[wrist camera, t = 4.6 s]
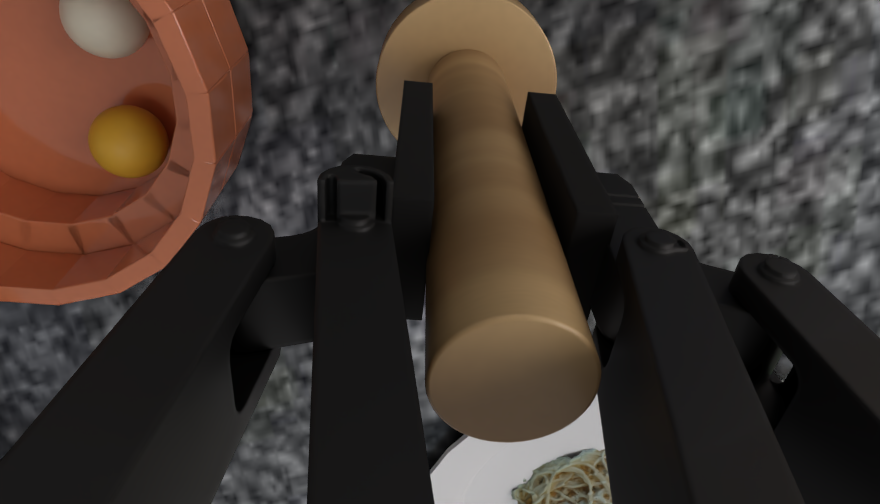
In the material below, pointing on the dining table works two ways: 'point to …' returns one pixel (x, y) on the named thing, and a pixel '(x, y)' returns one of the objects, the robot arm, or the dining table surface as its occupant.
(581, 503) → the plated food
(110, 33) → the bead
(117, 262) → the bowl
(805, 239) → the dining table surface
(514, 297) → the masher
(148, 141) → the bead
